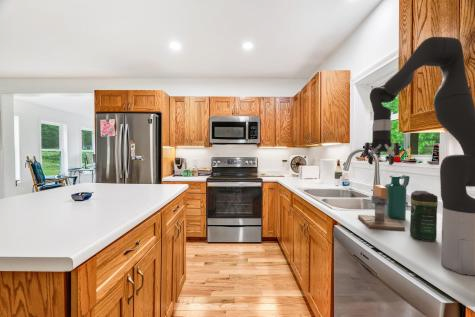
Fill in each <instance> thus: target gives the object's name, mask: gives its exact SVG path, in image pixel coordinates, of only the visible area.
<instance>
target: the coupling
mask: <svg viewBox="0 0 475 317" xmlns="http://www.w3.org/2000/svg"><path fill="white" fill-rule="evenodd" d="M371 203H372V204H374V205H375V204H380V205H388V204H389V197H387V188H386V187H385V186H382V185H380V184H378V185H377V184H374V186H373V195H371Z"/></svg>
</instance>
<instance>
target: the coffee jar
mask: <svg viewBox="0 0 475 317" xmlns="http://www.w3.org/2000/svg"><path fill="white" fill-rule="evenodd" d="M438 204H439V200H438V196H437V195H436V194H434V193H431V192H428V191H426V190H415V191H412V192H411V193H410V218H409V219H410V223H409V234H410V235H411V236H412V237H413V238H415V239H418V240H421V241H424V242H432V241H433V242H435V241H437V231H438V230H437V226H438V223H437V222H438V221H437V220H438V217H437V216H438Z"/></svg>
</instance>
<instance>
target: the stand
mask: <svg viewBox="0 0 475 317" xmlns="http://www.w3.org/2000/svg"><path fill="white" fill-rule="evenodd" d="M357 218H358V220H360V221H361V222H362V223H363V224H364V225H365V226H366V227H367V228H368V229H374V230H385V231H386V230H390V231H406V230H405V229H406V227H405V226H404V225H402V224H401V223H399V222H397V221H396V220H395V219H391V218H390V217H387V216H385V205H380V204H374V215H365V214H358V215H357Z"/></svg>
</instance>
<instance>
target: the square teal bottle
mask: <svg viewBox="0 0 475 317" xmlns="http://www.w3.org/2000/svg"><path fill="white" fill-rule="evenodd" d="M389 178H391V180H390V181H391V182H389V183H386V184H385V185H384V187H386V188H387V197H389V204H388V205H385V216H387V217H390V218H391V219H393V220H405V219H406V218H407V217H406V216H407V215H406V213H407V187H408V186H409V183H410V176H409V175H405V174H403V175H389ZM400 180H403V183H402V184H401V183H400Z"/></svg>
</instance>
